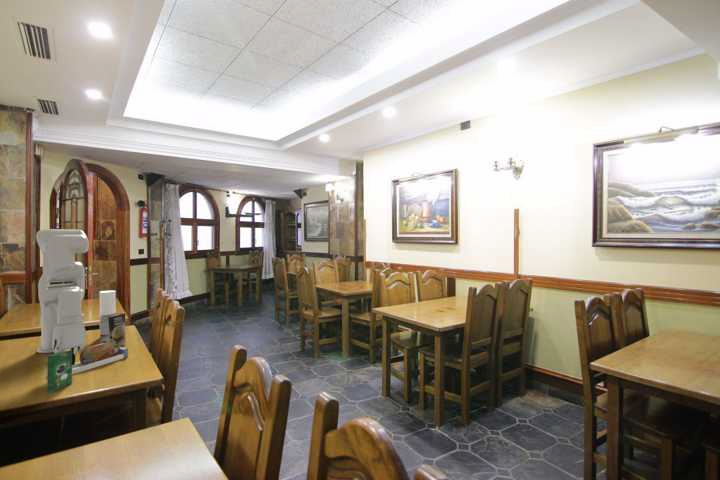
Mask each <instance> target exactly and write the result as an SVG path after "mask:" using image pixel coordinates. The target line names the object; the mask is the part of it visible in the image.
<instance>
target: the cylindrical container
mask: <svg viewBox="0 0 720 480" xmlns="http://www.w3.org/2000/svg"><path fill="white" fill-rule="evenodd" d="M116 304H117V303H116V290H101V291H99V318H100V317H101V316H105V315H110V314H114V313H117V312H116V309H117V308H116Z"/></svg>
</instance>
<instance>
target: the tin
mask: <svg viewBox="0 0 720 480" xmlns="http://www.w3.org/2000/svg"><path fill="white" fill-rule="evenodd" d="M119 352H120V348H119V345H118V344H117V343H115V342H106V343H102V344H100V343H99V344H95V345H92V346H87V347H86V348H84V349H83V350H82V351H81V353H80V354H79V362H81V364H83V365H87V364H90V363H94V362H97V361H100V360H103V359H107V358H110V357H113V356H117V355H119Z"/></svg>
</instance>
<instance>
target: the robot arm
mask: <svg viewBox="0 0 720 480" xmlns="http://www.w3.org/2000/svg"><path fill="white" fill-rule="evenodd" d="M35 238H36V243H37V244H38V248H39V249H40V251H41V253H42V275H41V276H40V277H39V280H38V284H37V290H38V293H37V294H38V300H39V305H40V318H41V319H40V323H41V325H40V326H41V330H40V331H41V335H40V336H41V339H40V340H41V341H40V344H41V345H40V346H41V347H38V348H37V349H36V352H37V353H39V354H54V353H57V352H60V351H62V350H65V349H72V365H74V364H75V363H76V355H77V353H78V352H79V350H80V349H82V348H84V347H86V342H87V341H86V340H87V337H86V336H87V335H86V328H85V323H84V321H83V319H84V318H85V316H86V315H85V314H82V301H83V299H84V298H85V292H86V291H85V284H86V283H85V281H86V279H85V278H86V276H85V275H86V273H85V271H86V269H85V267H84V264H83V263H82V262H80V261H76V260H75V254H85V253H87V252H88V251H89V249H90V241H89V238H88V236H87V234H86V233H85V232H84V231H83V230H82V229H71V228H70V229H66V228H65V229H64V228H47V229H45V228H44V229H40V230H38V231H37V232H36V237H35ZM62 282H63V283H62ZM64 282H70V283H64ZM48 283H55V284H48ZM56 283H57V284H56Z"/></svg>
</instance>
